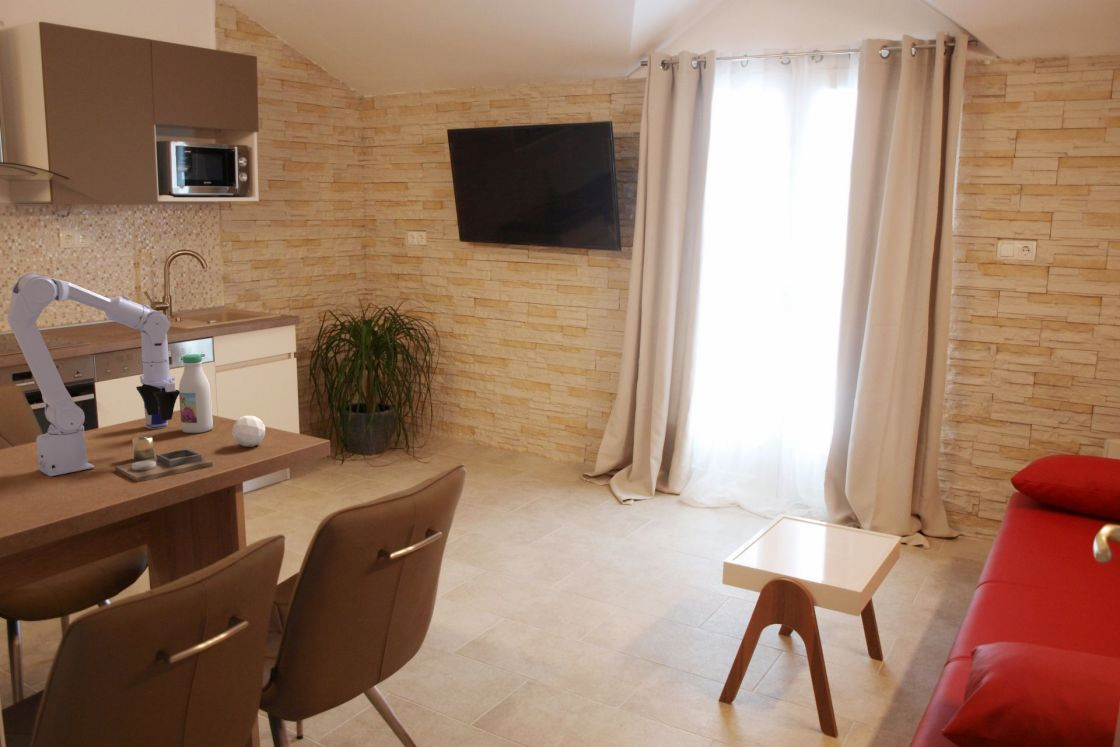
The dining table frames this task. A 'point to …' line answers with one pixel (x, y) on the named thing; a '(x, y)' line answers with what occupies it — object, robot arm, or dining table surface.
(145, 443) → the gold knobbed cylinder
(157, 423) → the energy drink
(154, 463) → the carrier board
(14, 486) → the dining table surface
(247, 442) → the geometric ball
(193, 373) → the milk bottle
